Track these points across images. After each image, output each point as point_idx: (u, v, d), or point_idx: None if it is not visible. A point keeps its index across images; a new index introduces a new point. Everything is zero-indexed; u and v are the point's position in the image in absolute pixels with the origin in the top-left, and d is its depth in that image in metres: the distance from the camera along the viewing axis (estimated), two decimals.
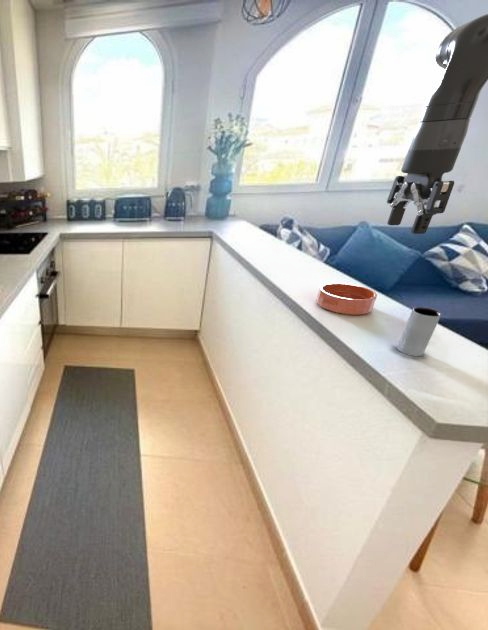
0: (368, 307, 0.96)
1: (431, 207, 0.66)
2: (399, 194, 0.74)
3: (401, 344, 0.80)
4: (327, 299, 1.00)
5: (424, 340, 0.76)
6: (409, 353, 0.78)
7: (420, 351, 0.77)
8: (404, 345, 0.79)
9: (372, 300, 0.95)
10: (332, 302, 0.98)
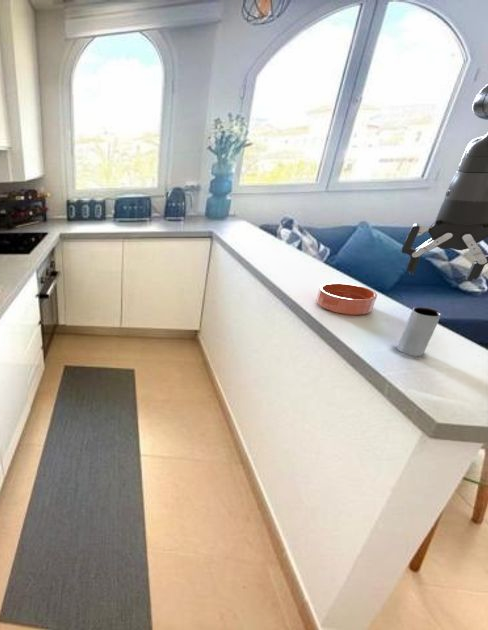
0: (368, 307, 0.96)
1: None
2: (434, 244, 0.70)
3: (401, 344, 0.80)
4: (327, 299, 1.00)
5: (424, 340, 0.76)
6: (409, 353, 0.78)
7: (420, 351, 0.77)
8: (404, 345, 0.79)
9: (372, 300, 0.95)
10: (332, 302, 0.98)
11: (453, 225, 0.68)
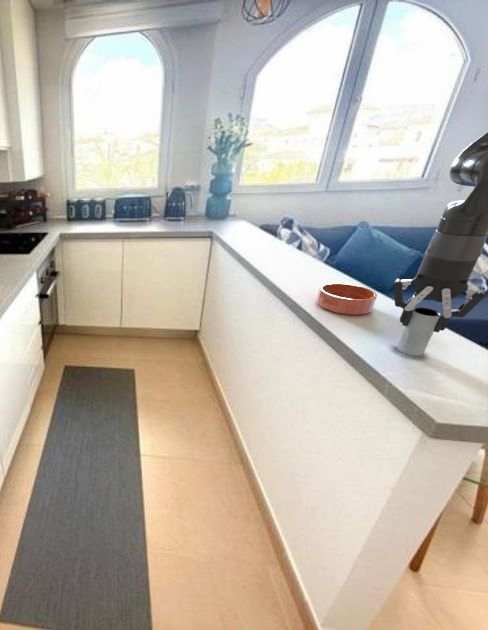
0: (368, 307, 0.96)
1: (466, 312, 0.71)
2: (420, 297, 0.74)
3: (401, 344, 0.80)
4: (327, 299, 1.00)
5: (424, 340, 0.76)
6: (409, 353, 0.78)
7: (420, 351, 0.77)
8: (404, 345, 0.79)
9: (372, 300, 0.95)
10: (332, 302, 0.98)
11: (433, 279, 0.72)
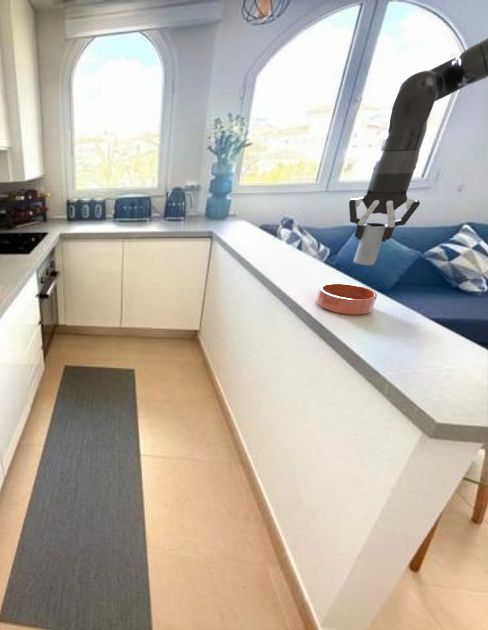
0: (368, 307, 0.96)
1: (406, 220, 0.84)
2: (370, 211, 0.88)
3: (356, 256, 0.93)
4: (327, 299, 1.00)
5: (374, 249, 0.90)
6: (362, 263, 0.92)
7: (371, 260, 0.91)
8: (358, 256, 0.92)
9: (372, 300, 0.95)
10: (332, 302, 0.98)
11: (379, 194, 0.86)
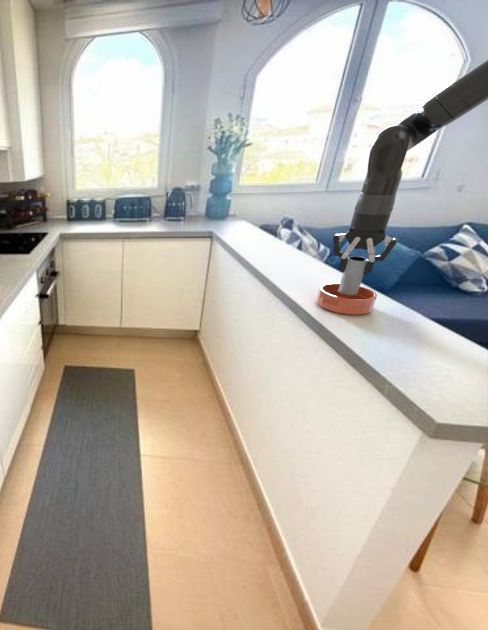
0: (368, 307, 0.96)
1: (384, 256, 0.91)
2: (352, 247, 0.94)
3: (340, 287, 1.00)
4: (327, 299, 1.00)
5: (356, 281, 0.96)
6: (346, 293, 0.99)
7: (354, 291, 0.98)
8: (342, 287, 0.99)
9: (372, 300, 0.95)
10: (332, 302, 0.98)
11: (360, 231, 0.92)
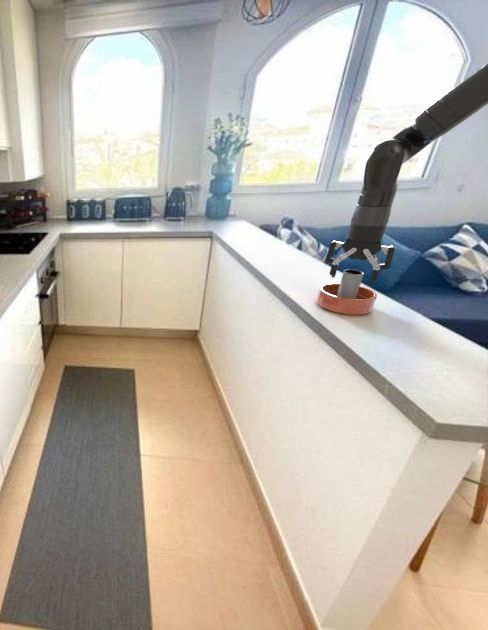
0: (368, 307, 0.96)
1: (390, 264, 0.91)
2: (345, 256, 0.96)
3: None
4: (327, 299, 1.00)
5: (352, 294, 0.98)
6: None
7: None
8: None
9: (372, 300, 0.95)
10: (332, 302, 0.98)
11: (357, 242, 0.94)
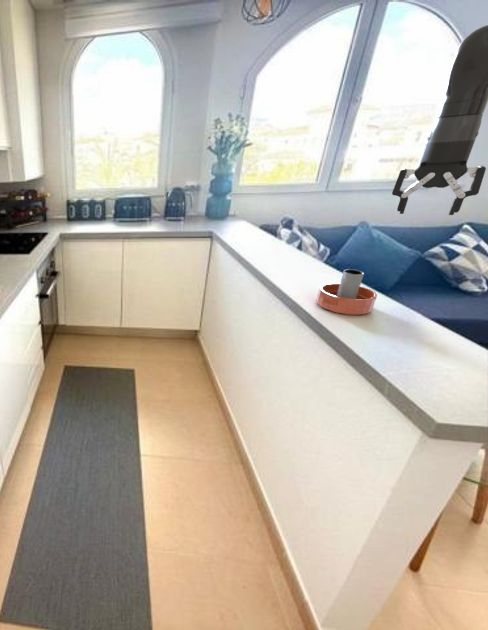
0: (368, 307, 0.96)
1: None
2: (420, 184, 0.81)
3: None
4: (327, 299, 1.00)
5: (352, 294, 0.98)
6: None
7: None
8: None
9: (372, 300, 0.95)
10: (332, 302, 0.98)
11: (435, 166, 0.78)
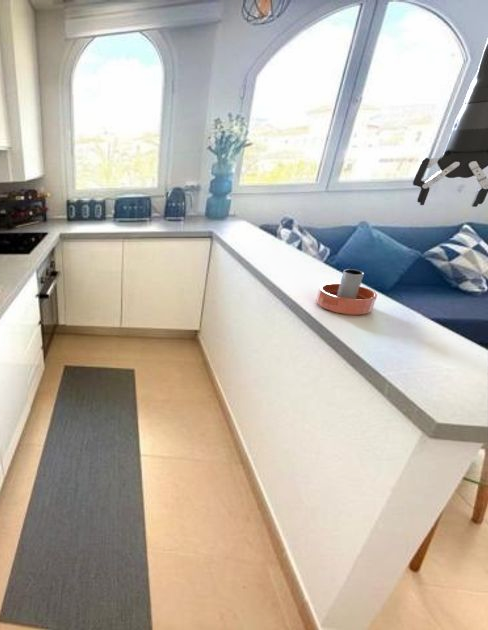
0: (368, 307, 0.96)
1: None
2: (443, 174, 0.77)
3: None
4: (327, 299, 1.00)
5: (352, 294, 0.98)
6: None
7: None
8: None
9: (372, 300, 0.95)
10: (332, 302, 0.98)
11: (460, 154, 0.75)
